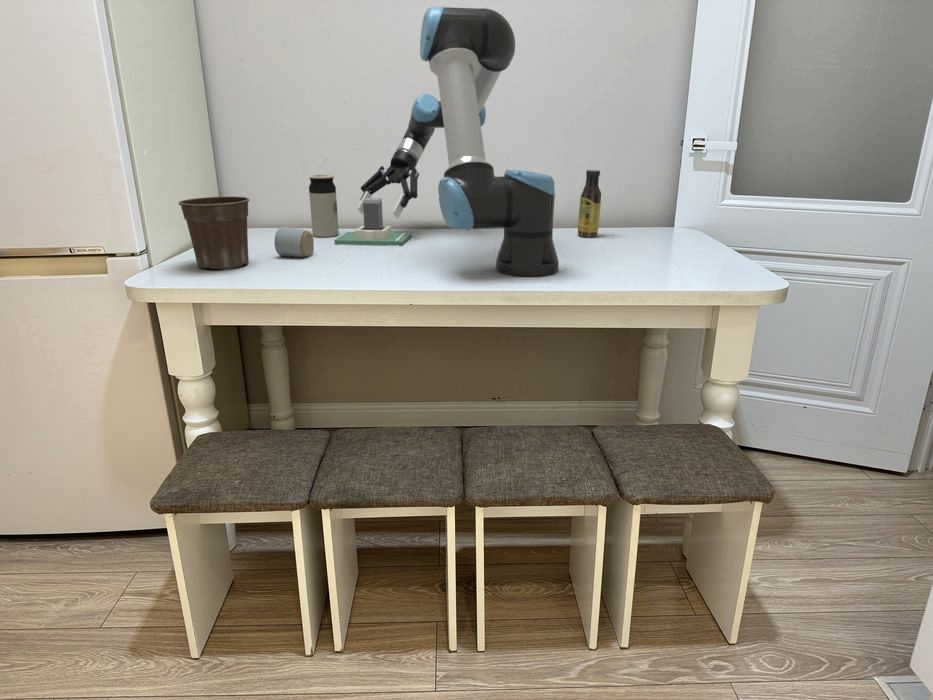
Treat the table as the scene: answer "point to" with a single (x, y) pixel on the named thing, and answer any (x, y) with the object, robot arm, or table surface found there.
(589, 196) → the sauce bottle
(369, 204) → the plug
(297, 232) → the ceramic mug
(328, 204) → the travel mug
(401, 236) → the board
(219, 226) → the plant pot
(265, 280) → the table surface
